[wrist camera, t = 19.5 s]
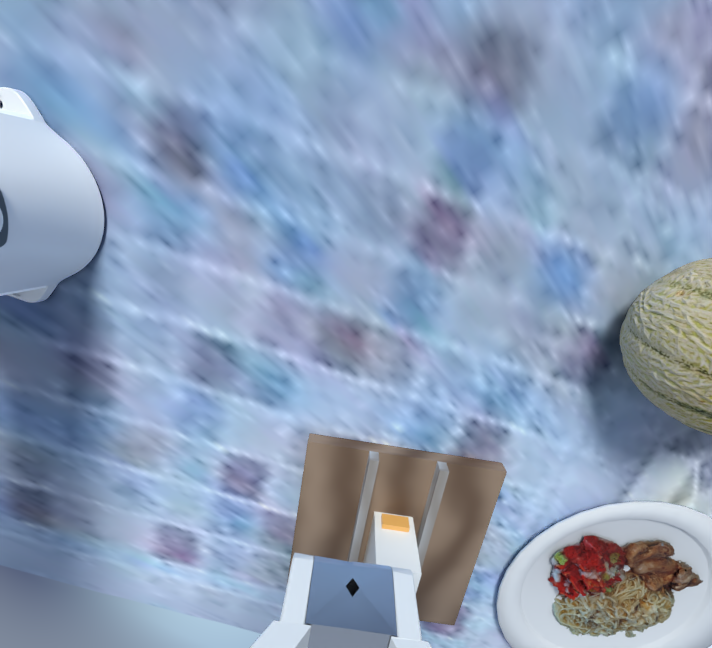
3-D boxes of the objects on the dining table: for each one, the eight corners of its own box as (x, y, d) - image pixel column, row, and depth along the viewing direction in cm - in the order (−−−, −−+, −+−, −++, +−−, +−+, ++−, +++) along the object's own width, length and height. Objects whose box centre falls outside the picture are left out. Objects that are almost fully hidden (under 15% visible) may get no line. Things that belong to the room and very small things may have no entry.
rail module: (362, 563, 46) (362, 625, 39) (375, 507, 43) (377, 562, 36) (399, 568, 46) (405, 631, 39) (413, 513, 43) (423, 569, 36)
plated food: (653, 686, 54) (672, 716, 50) (457, 637, 52) (463, 666, 48) (786, 528, 45) (819, 553, 42) (556, 462, 43) (572, 483, 40)
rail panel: (286, 590, 49) (282, 613, 46) (309, 433, 42) (305, 450, 39) (451, 613, 50) (456, 638, 47) (501, 462, 43) (511, 481, 40)
